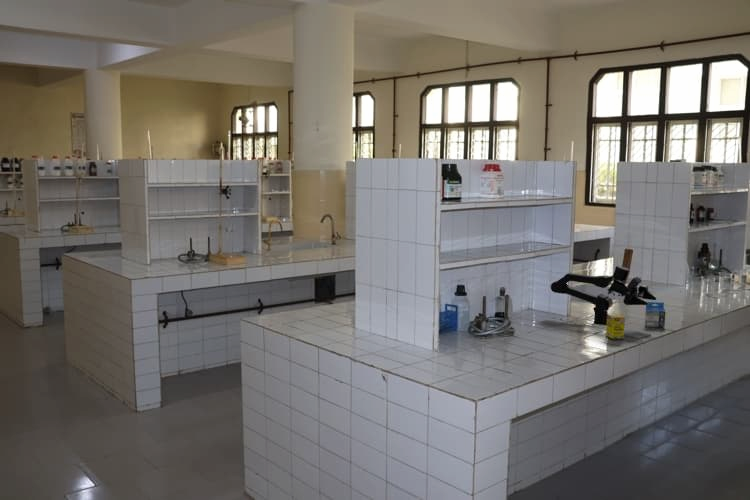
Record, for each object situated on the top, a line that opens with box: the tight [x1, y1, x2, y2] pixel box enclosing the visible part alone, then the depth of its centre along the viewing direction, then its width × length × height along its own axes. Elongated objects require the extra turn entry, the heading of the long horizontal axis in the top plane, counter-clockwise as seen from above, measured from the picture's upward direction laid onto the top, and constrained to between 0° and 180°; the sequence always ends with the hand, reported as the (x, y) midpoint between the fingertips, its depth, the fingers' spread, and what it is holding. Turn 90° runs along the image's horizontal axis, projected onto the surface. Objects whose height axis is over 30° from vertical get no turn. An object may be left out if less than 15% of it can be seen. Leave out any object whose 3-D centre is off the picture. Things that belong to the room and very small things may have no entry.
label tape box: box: [644, 301, 666, 328], centre depth 342 cm, size 9×4×12 cm, turn 82°
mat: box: [624, 328, 652, 340], centre depth 325 cm, size 12×12×1 cm
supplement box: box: [605, 314, 626, 341], centre depth 317 cm, size 6×6×11 cm
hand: (651, 301), depth 330 cm, fingers open, 9 cm apart
